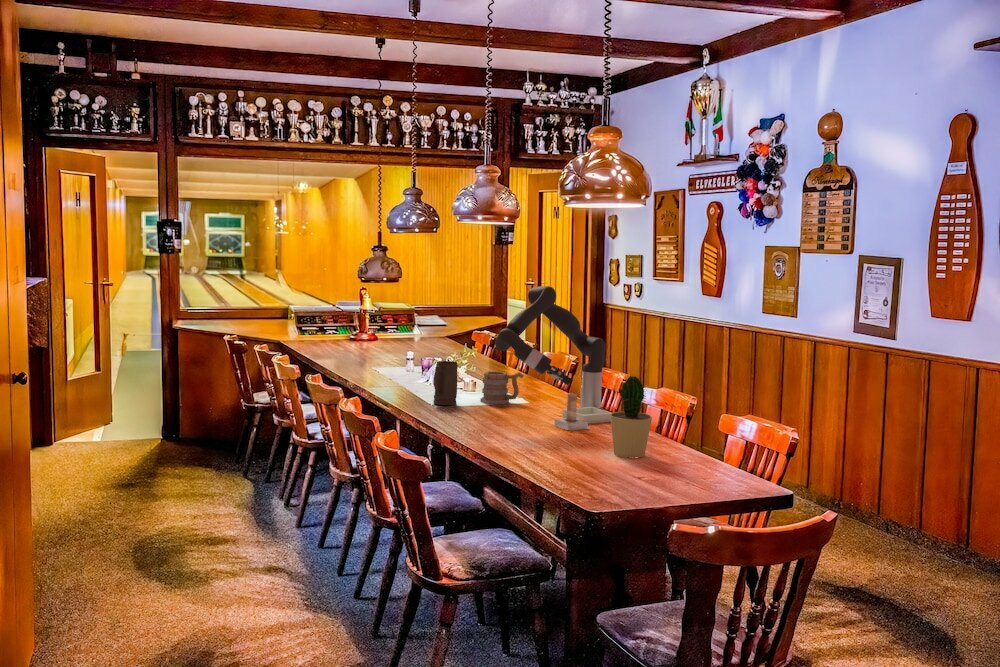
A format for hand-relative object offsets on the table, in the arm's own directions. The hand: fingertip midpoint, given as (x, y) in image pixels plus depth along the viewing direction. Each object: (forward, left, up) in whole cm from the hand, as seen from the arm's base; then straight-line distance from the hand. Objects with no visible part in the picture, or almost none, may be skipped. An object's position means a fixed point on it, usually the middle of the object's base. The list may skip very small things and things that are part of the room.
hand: (570, 382), depth 389 cm
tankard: (-60, +2, -19) cm, 63 cm away
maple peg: (0, +1, -19) cm, 19 cm away
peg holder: (0, +1, -19) cm, 19 cm away
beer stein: (-64, -27, -19) cm, 72 cm away
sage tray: (-12, +18, -19) cm, 29 cm away
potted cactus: (+49, -6, -19) cm, 53 cm away
